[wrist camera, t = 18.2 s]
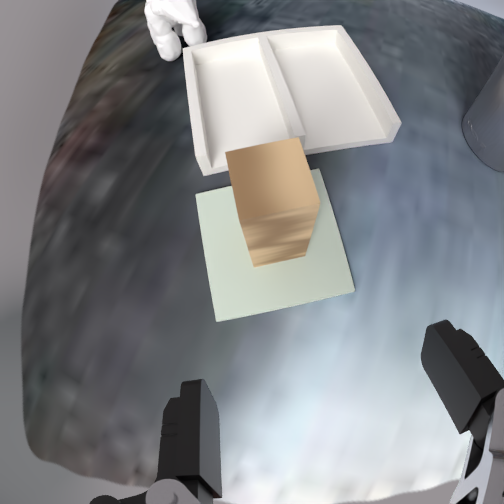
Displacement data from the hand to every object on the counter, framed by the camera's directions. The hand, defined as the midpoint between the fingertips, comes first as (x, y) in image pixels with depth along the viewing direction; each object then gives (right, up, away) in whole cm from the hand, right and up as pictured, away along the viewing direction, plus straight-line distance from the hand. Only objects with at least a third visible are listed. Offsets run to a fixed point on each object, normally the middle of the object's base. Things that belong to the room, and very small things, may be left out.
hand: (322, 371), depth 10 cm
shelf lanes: (+1, +22, +23) cm, 32 cm away
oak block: (0, +5, +18) cm, 19 cm away
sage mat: (-1, +5, +18) cm, 19 cm away
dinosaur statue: (-13, +34, +28) cm, 46 cm away
